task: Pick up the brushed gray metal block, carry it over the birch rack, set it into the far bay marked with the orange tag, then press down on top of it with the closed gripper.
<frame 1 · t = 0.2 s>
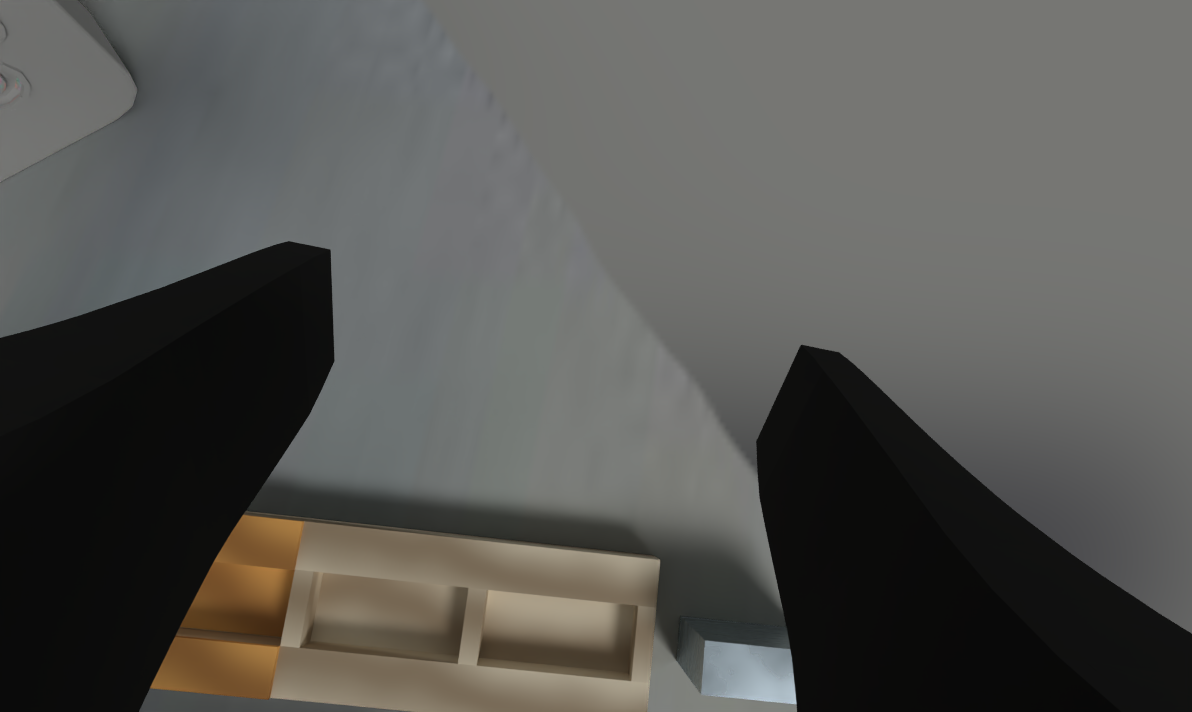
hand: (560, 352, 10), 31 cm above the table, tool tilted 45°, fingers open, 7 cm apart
brushed gray metal block: (736, 644, 39), on the table
rack: (395, 609, 38), on the table
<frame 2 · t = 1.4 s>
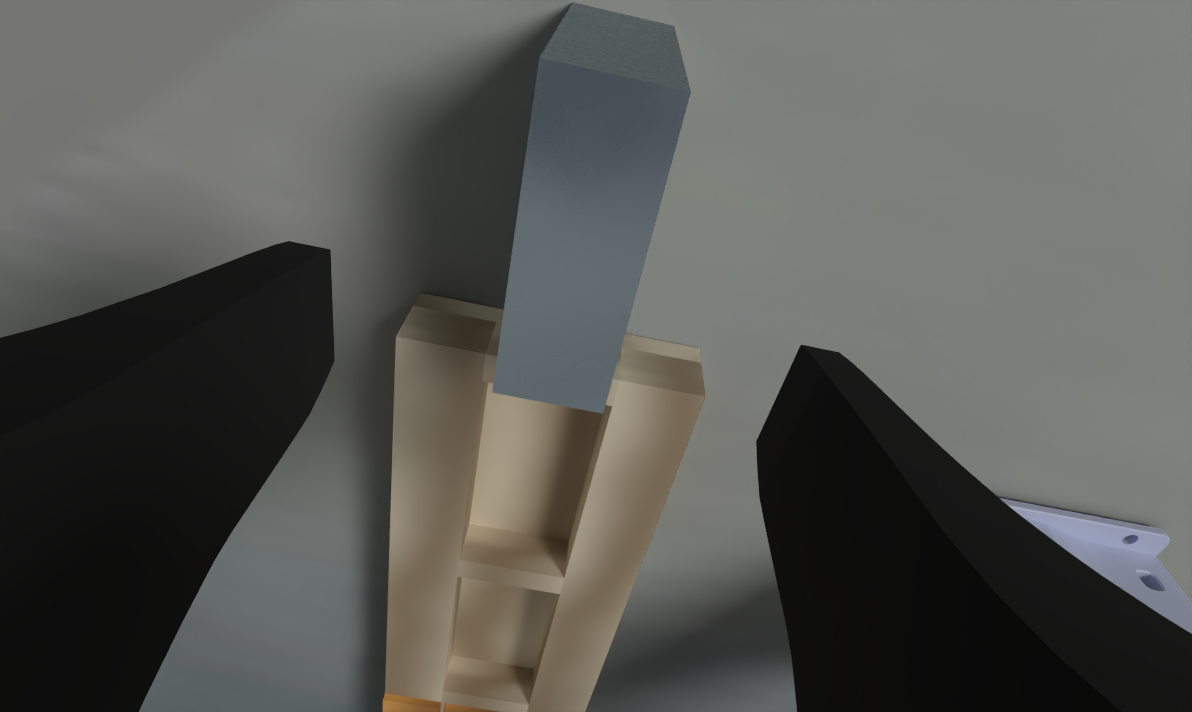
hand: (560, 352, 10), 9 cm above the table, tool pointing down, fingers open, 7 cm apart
brushed gray metal block: (595, 154, 18), on the table
rack: (506, 594, 29), on the table
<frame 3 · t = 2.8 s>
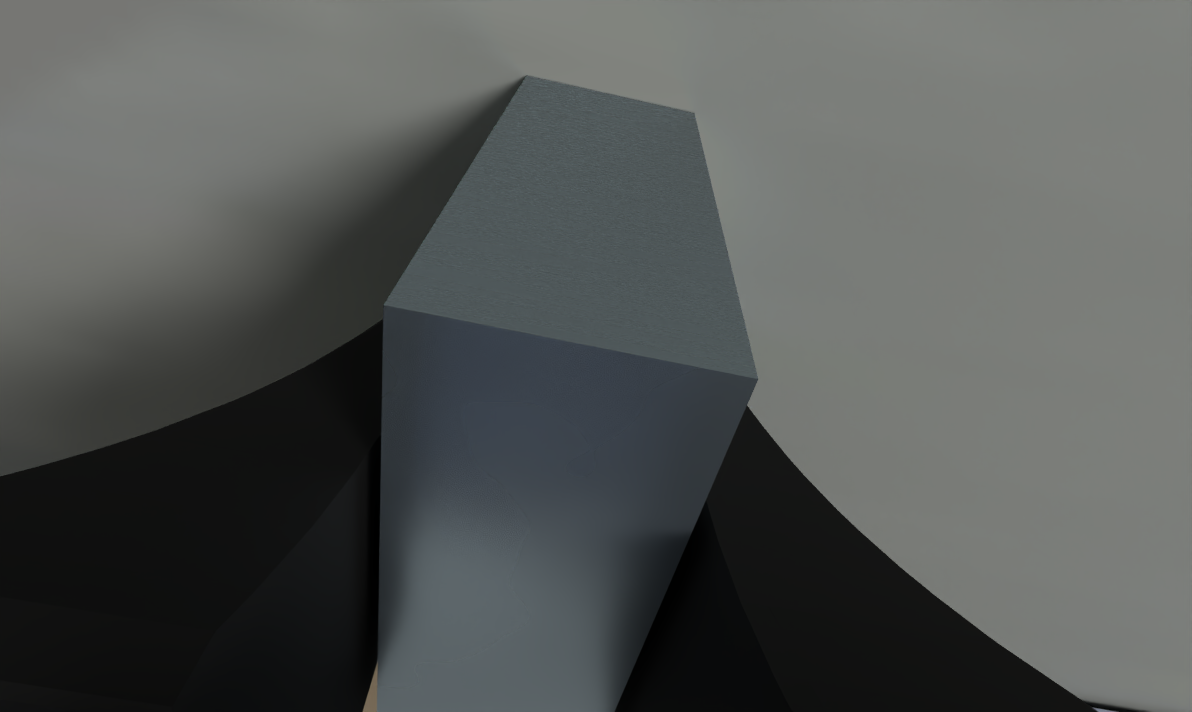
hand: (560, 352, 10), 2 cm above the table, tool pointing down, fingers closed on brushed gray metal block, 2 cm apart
brushed gray metal block: (569, 298, 12), on the table, touching gripper
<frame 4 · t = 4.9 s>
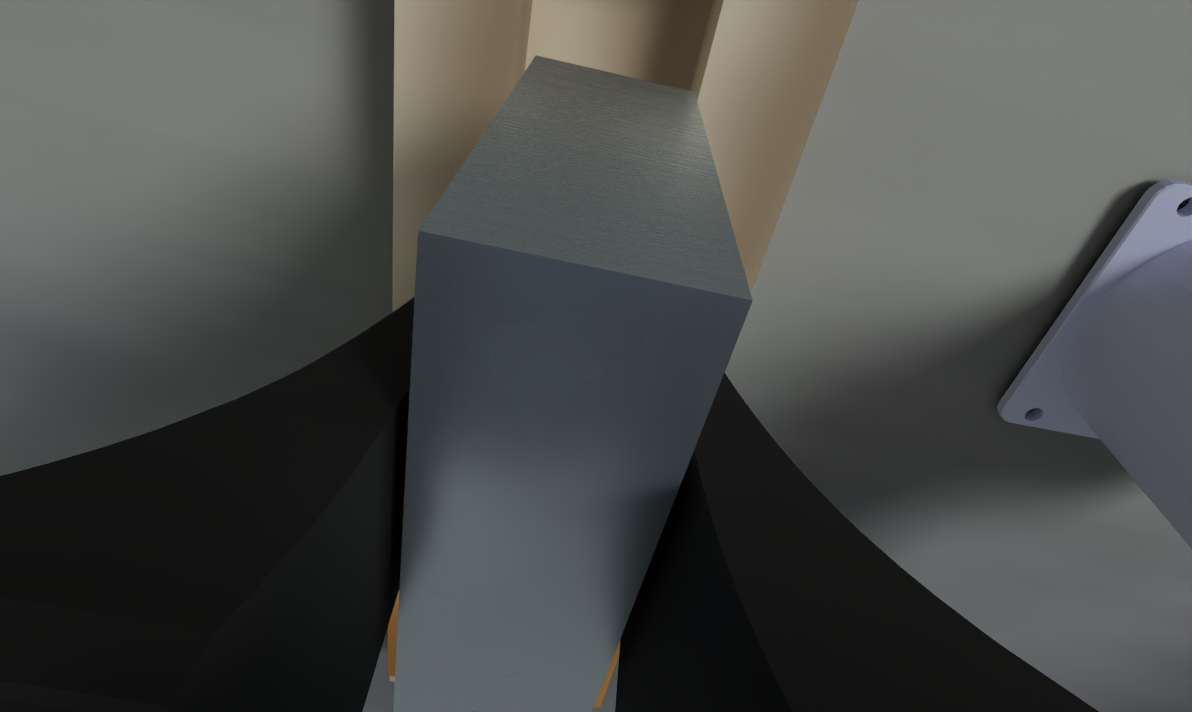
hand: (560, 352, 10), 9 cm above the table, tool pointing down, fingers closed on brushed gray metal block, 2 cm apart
brushed gray metal block: (574, 272, 12), point 6 cm above the table, touching gripper
rack: (547, 403, 22), on the table
when the fingers open (4 cm above the table, at t = 7.3 s): brushed gray metal block stays where it is, resting on rack.
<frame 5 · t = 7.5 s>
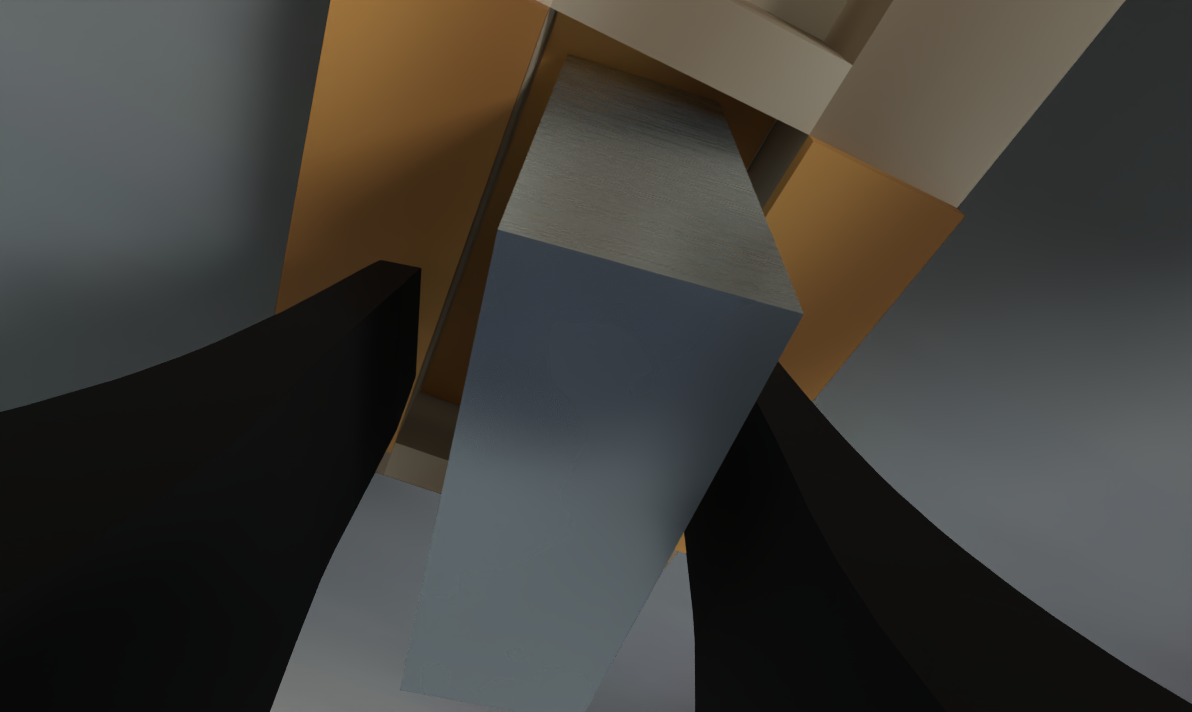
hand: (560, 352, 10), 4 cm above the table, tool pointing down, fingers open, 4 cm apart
brushed gray metal block: (585, 267, 12), point 1 cm above the table, touching rack
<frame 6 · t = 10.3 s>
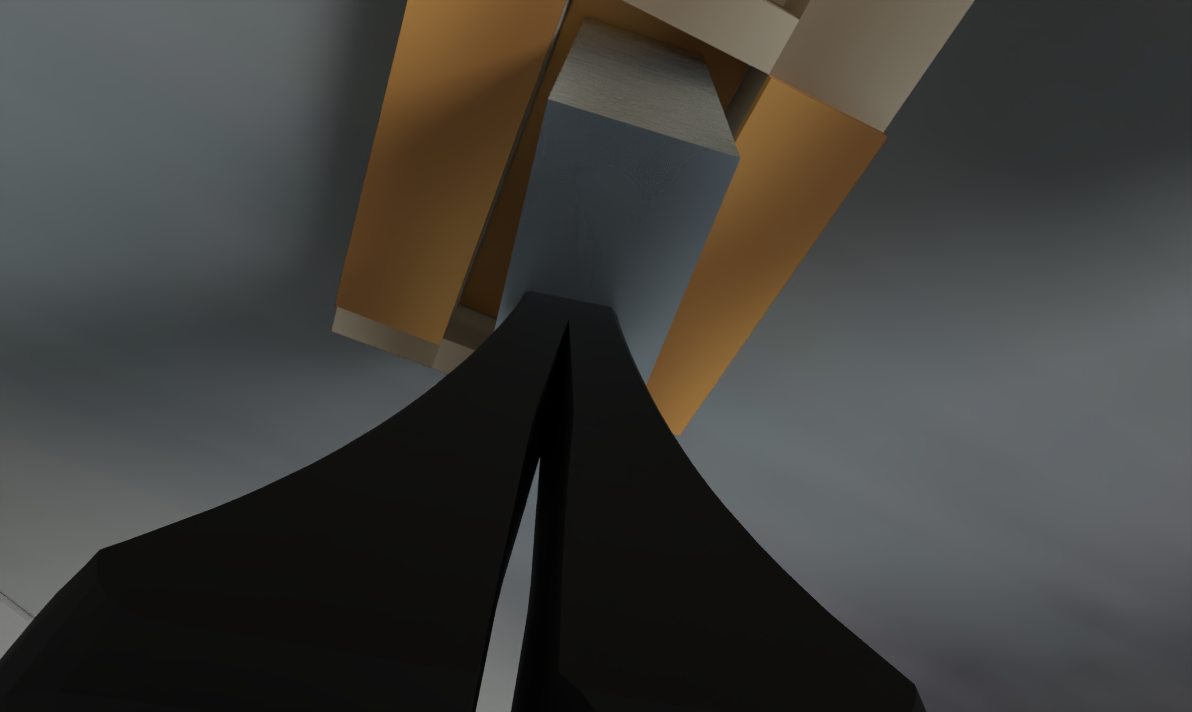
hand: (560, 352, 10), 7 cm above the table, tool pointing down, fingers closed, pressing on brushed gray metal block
brushed gray metal block: (597, 193, 15), point 1 cm above the table, touching gripper, rack
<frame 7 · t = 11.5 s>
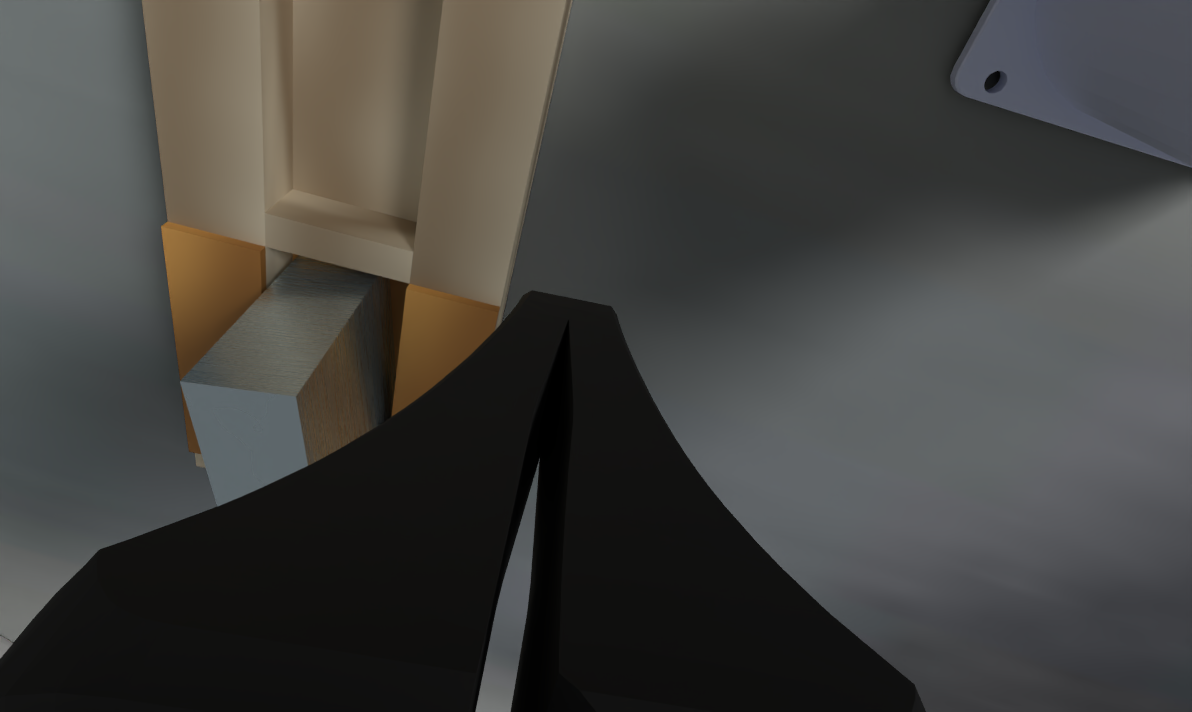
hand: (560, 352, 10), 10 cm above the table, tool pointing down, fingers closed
brushed gray metal block: (356, 350, 22), point 1 cm above the table, touching rack
rack: (382, 48, 17), on the table
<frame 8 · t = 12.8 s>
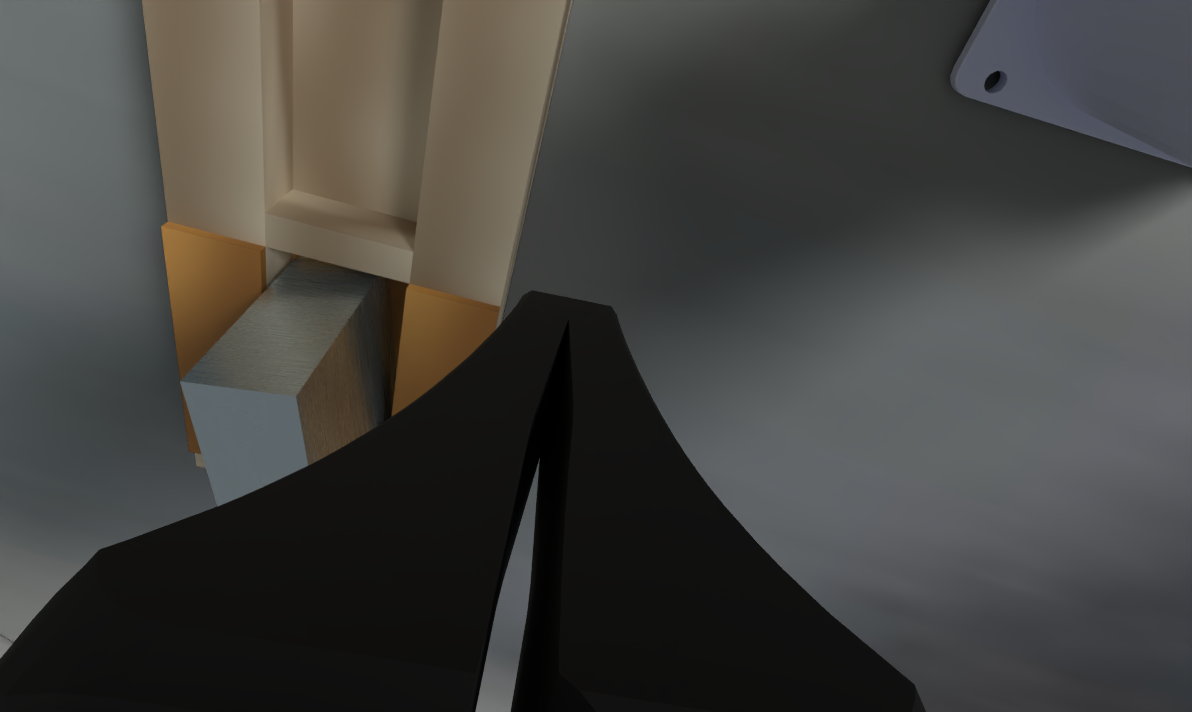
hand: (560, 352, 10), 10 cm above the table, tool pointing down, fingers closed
brushed gray metal block: (356, 350, 22), point 1 cm above the table, touching rack
rack: (382, 48, 17), on the table
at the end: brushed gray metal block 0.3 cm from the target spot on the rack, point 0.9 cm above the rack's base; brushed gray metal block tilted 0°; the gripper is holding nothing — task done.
